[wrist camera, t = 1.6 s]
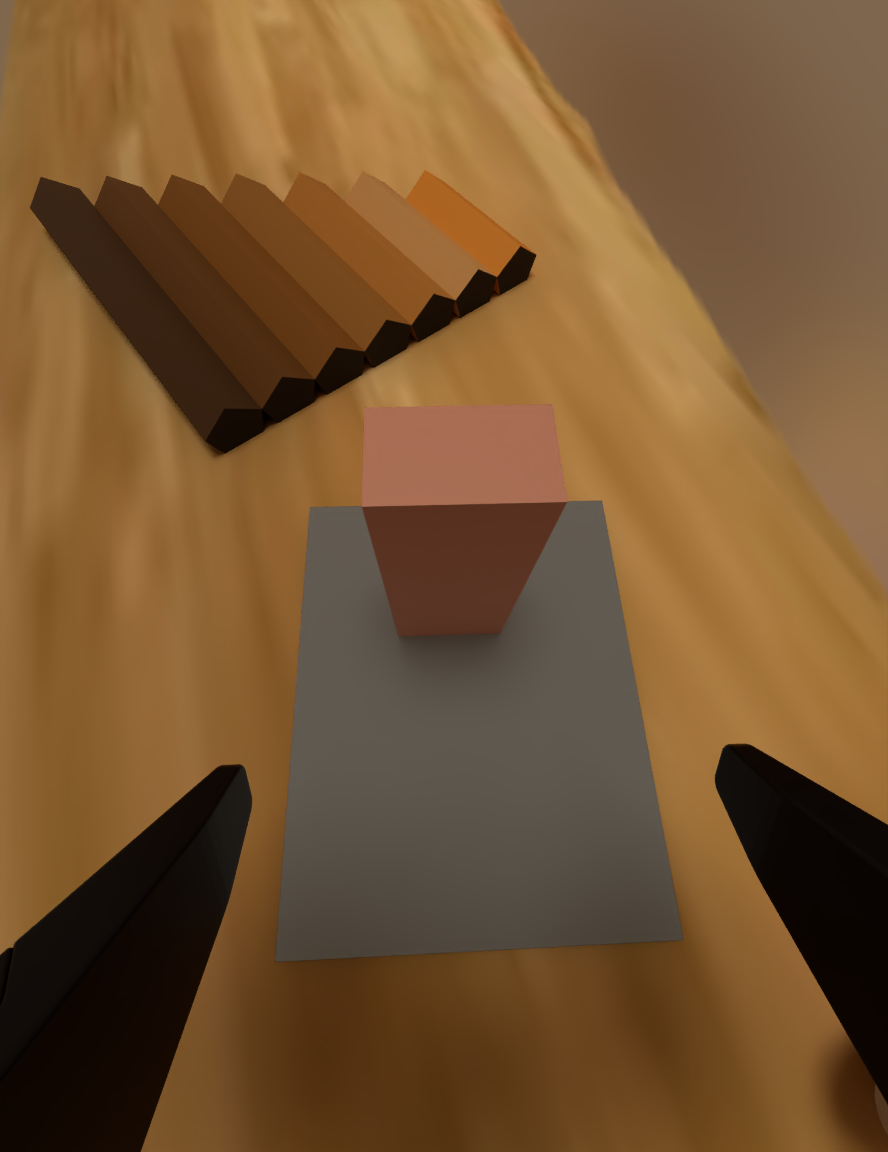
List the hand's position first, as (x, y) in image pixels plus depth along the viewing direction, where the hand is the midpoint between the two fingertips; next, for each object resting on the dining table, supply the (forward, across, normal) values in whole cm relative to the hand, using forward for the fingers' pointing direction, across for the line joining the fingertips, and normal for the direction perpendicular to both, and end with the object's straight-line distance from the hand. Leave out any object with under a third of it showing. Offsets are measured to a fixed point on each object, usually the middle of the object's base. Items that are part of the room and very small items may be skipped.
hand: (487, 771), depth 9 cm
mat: (+12, -1, +7) cm, 14 cm away
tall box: (+14, 0, +4) cm, 15 cm away
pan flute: (+35, +10, -14) cm, 39 cm away
